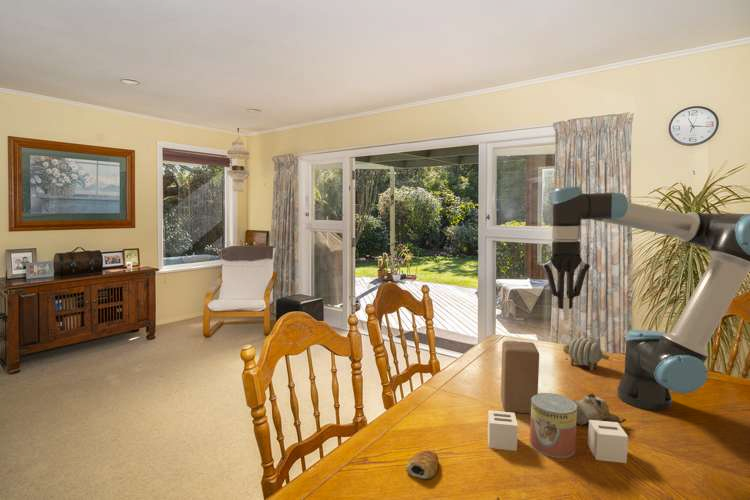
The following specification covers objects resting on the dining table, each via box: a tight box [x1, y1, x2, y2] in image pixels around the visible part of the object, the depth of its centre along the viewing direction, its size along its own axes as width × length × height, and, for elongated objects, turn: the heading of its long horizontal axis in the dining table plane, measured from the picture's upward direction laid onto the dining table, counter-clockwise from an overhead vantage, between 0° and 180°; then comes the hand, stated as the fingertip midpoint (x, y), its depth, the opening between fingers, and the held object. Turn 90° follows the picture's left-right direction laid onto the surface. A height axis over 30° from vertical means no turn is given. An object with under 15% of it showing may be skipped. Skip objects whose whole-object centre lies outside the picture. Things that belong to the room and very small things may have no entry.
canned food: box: [529, 392, 578, 459], centre depth 111 cm, size 11×11×12 cm
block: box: [500, 340, 540, 415], centre depth 132 cm, size 10×10×20 cm
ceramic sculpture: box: [572, 393, 627, 426], centre depth 123 cm, size 11×9×15 cm
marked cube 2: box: [587, 420, 629, 464], centre depth 107 cm, size 7×7×7 cm
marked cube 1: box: [487, 409, 519, 452], centre depth 112 cm, size 7×7×7 cm
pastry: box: [405, 449, 439, 480], centre depth 102 cm, size 9×7×4 cm
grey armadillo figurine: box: [562, 338, 610, 371], centre depth 165 cm, size 11×17×11 cm, turn 48°
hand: (564, 319), depth 124 cm, fingers closed
